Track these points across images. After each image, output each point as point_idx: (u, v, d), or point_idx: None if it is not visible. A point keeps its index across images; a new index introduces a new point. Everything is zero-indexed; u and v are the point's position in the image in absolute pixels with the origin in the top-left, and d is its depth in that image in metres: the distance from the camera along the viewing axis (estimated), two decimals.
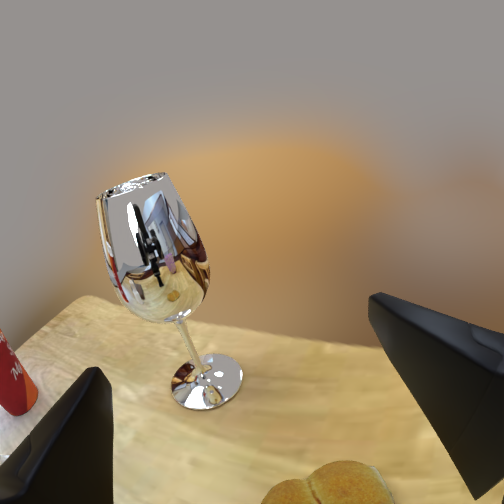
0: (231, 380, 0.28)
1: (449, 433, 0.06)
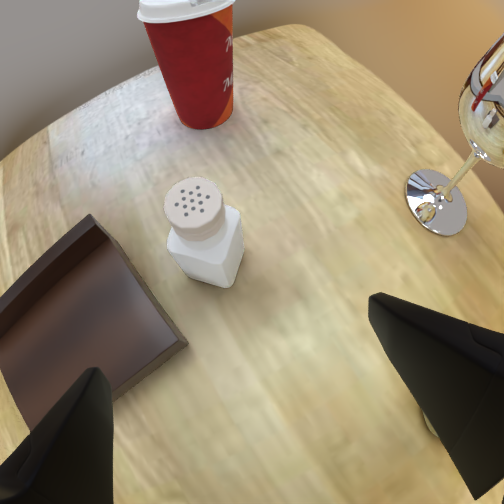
0: (458, 219, 0.25)
1: (449, 433, 0.06)
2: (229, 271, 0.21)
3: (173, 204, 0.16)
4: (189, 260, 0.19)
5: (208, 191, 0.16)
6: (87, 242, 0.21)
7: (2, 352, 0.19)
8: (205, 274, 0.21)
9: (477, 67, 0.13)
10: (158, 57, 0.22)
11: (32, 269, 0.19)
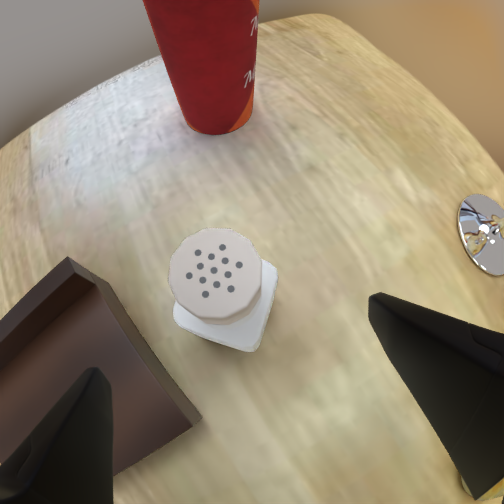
0: None
1: (449, 433, 0.06)
2: (258, 343, 0.15)
3: (184, 276, 0.10)
4: (206, 336, 0.13)
5: (240, 255, 0.10)
6: (67, 293, 0.15)
7: None
8: (225, 344, 0.15)
9: None
10: (159, 41, 0.16)
11: (2, 326, 0.13)
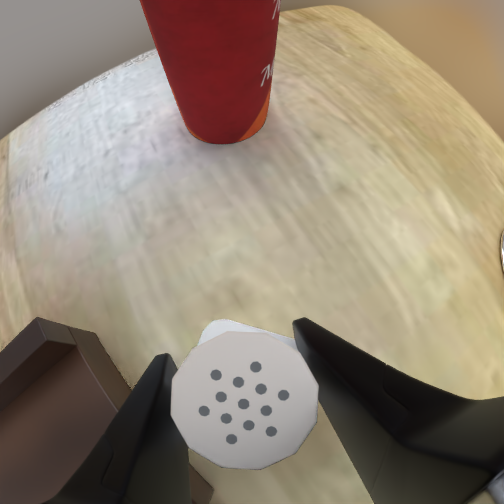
0: None
1: (366, 476, 0.06)
2: None
3: (196, 410, 0.06)
4: None
5: (285, 379, 0.06)
6: (42, 359, 0.11)
7: None
8: None
9: None
10: (152, 24, 0.11)
11: None
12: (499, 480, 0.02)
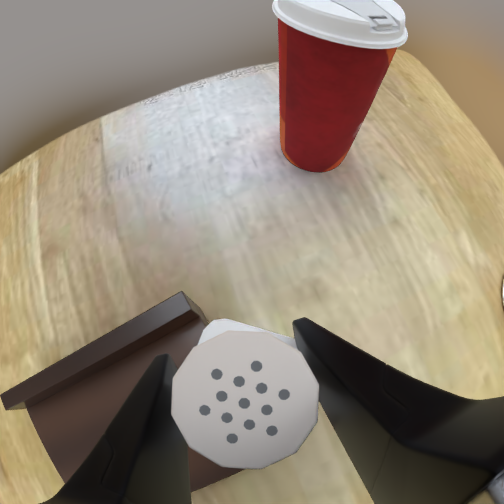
0: None
1: (366, 476, 0.06)
2: None
3: (197, 410, 0.06)
4: None
5: (286, 379, 0.06)
6: (174, 324, 0.17)
7: (40, 418, 0.16)
8: None
9: None
10: (289, 77, 0.17)
11: (93, 349, 0.15)
12: (499, 480, 0.02)
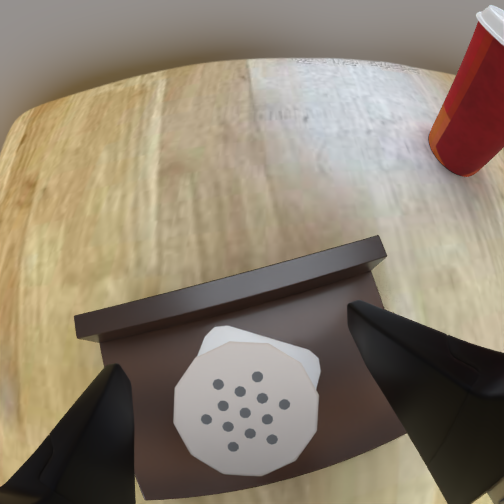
0: None
1: (426, 446, 0.06)
2: None
3: (198, 419, 0.06)
4: None
5: (286, 389, 0.06)
6: (356, 270, 0.15)
7: (120, 359, 0.15)
8: None
9: None
10: (476, 81, 0.15)
11: (259, 277, 0.14)
12: None
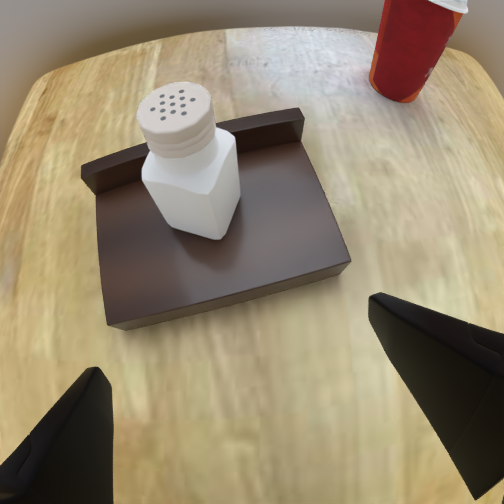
0: None
1: (449, 433, 0.06)
2: (219, 211, 0.16)
3: (149, 109, 0.11)
4: (168, 192, 0.15)
5: (194, 94, 0.11)
6: (284, 131, 0.21)
7: (109, 203, 0.21)
8: (189, 217, 0.17)
9: None
10: (389, 19, 0.20)
11: None
12: None
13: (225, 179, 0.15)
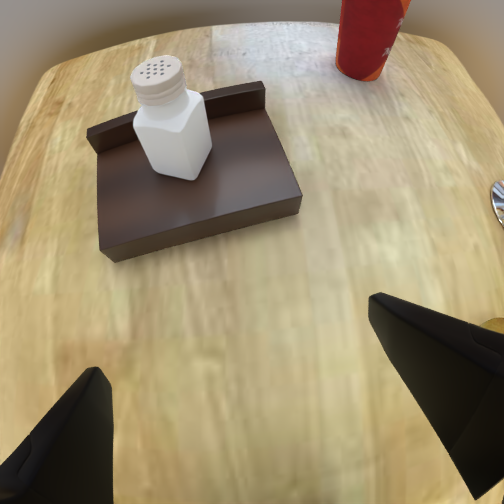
0: None
1: (449, 433, 0.06)
2: (190, 151, 0.20)
3: (139, 73, 0.15)
4: (152, 134, 0.19)
5: (170, 62, 0.15)
6: (249, 100, 0.25)
7: (107, 159, 0.25)
8: (168, 157, 0.21)
9: None
10: (345, 8, 0.24)
11: None
12: None
13: (194, 125, 0.19)
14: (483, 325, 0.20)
